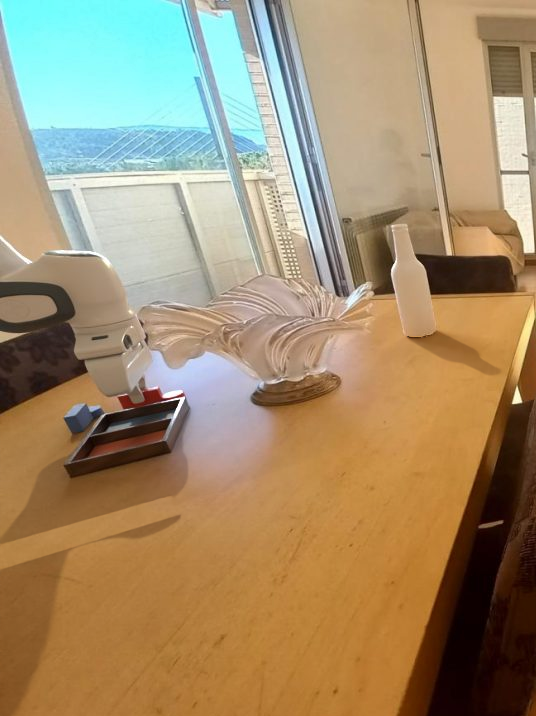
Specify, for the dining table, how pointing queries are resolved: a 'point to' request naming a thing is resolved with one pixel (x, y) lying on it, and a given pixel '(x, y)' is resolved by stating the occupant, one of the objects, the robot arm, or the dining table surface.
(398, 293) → the alcohol
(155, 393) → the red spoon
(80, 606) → the dining table surface
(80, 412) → the blue toy piece
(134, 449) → the tray
